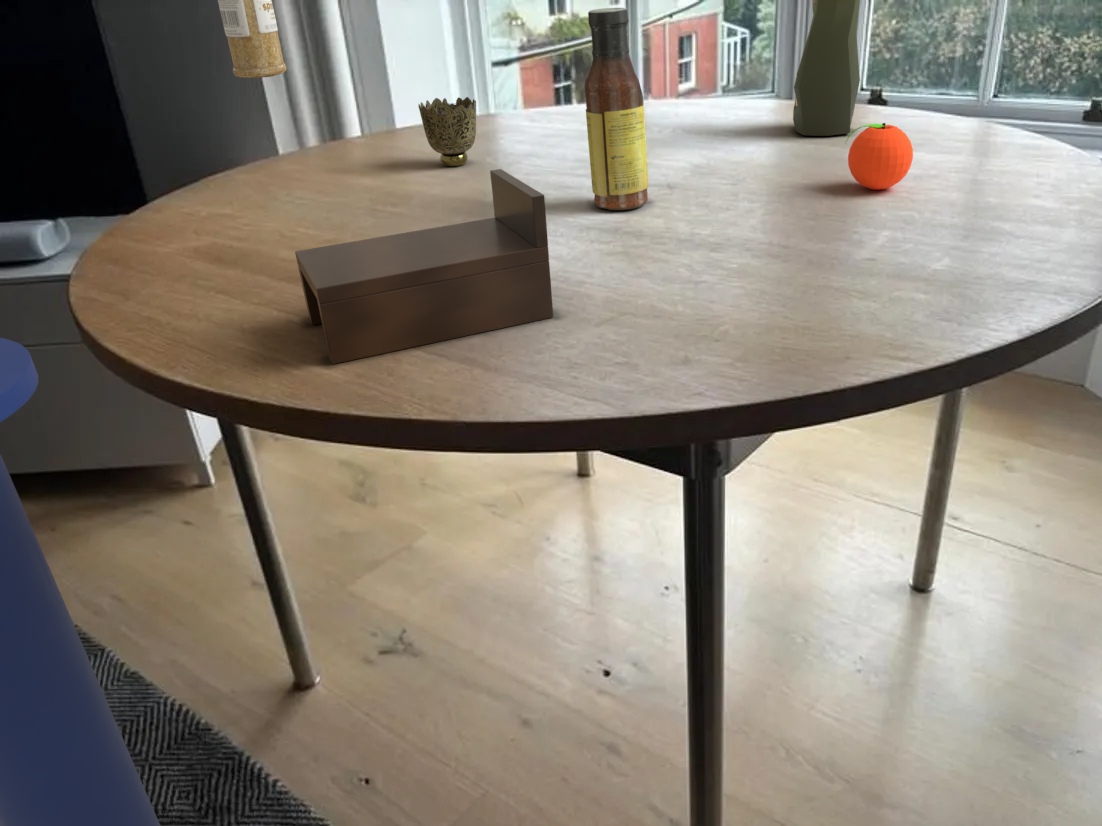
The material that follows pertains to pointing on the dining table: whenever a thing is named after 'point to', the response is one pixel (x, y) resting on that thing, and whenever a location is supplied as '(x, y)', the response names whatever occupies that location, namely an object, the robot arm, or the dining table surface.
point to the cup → (450, 128)
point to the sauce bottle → (615, 116)
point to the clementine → (880, 156)
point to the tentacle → (828, 70)
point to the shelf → (433, 279)
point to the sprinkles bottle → (252, 37)
